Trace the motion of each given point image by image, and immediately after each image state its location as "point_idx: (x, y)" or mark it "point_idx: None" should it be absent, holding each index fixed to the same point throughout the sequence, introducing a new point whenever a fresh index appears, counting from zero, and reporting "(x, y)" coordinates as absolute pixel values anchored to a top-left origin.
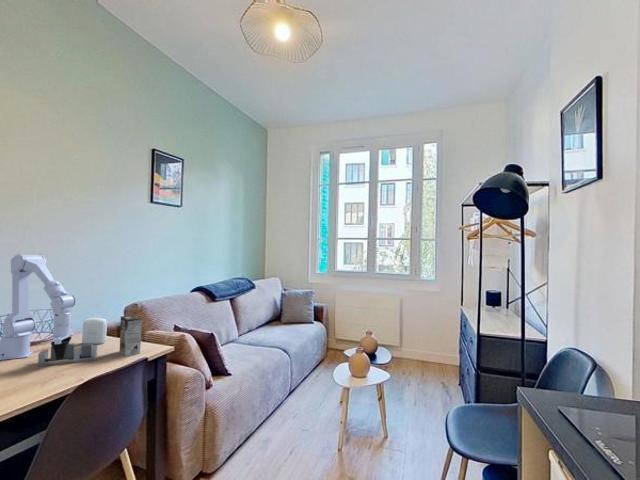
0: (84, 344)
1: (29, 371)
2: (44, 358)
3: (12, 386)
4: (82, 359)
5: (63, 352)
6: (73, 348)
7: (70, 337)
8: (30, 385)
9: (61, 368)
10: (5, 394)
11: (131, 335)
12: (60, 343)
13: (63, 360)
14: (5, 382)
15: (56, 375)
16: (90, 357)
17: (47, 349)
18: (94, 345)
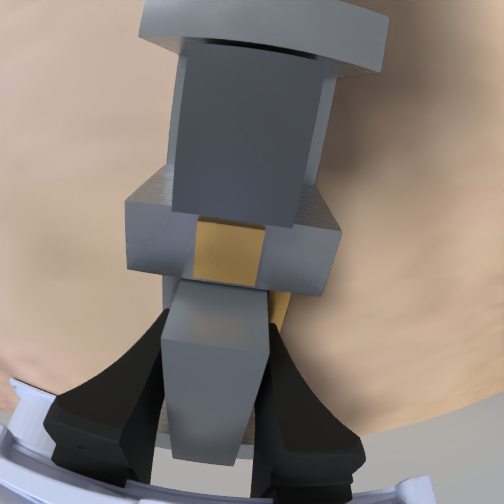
0: (179, 178)
1: (323, 404)
2: None
3: (459, 401)
4: (317, 156)
5: (292, 365)
6: (266, 311)
7: (94, 440)
8: (499, 362)
9: (396, 293)
10: (499, 392)
11: None
12: (428, 477)
13: (286, 306)
14: (401, 426)
15: (486, 304)
16: (331, 83)
17: (159, 434)
18: (182, 15)
